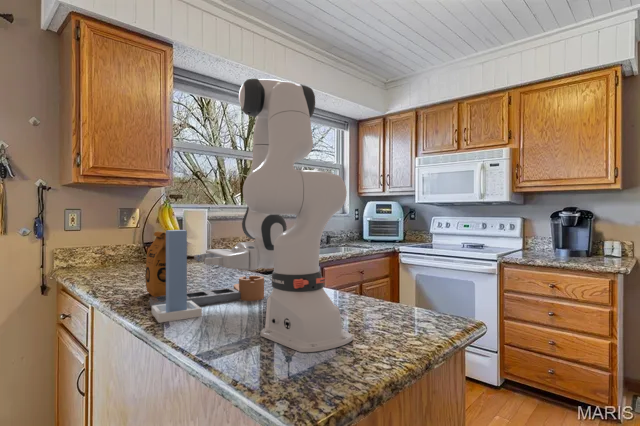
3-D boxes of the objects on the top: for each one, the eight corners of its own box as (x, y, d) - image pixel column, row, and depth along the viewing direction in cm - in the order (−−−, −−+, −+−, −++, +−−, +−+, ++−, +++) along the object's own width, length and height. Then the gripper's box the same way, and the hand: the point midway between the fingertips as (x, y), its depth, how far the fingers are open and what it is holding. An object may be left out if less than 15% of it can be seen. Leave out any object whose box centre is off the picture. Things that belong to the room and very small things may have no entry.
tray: (201, 316, 100) (201, 308, 100) (158, 322, 94) (158, 314, 94) (191, 307, 109) (191, 300, 109) (151, 313, 103) (151, 305, 103)
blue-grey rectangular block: (186, 313, 101) (186, 230, 101) (169, 315, 99) (169, 231, 99) (182, 309, 105) (182, 229, 105) (165, 311, 102) (165, 230, 102)
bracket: (266, 299, 120) (266, 278, 120) (241, 302, 117) (241, 280, 117) (254, 289, 136) (254, 271, 136) (231, 291, 133) (231, 272, 133)
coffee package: (148, 300, 119) (148, 232, 119) (143, 293, 129) (144, 231, 129) (180, 296, 124) (180, 232, 124) (173, 289, 135) (173, 230, 135)
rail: (240, 299, 119) (240, 292, 119) (154, 311, 105) (154, 303, 105) (230, 294, 127) (230, 287, 127) (149, 305, 112) (149, 297, 112)
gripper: (232, 243, 122) (189, 246, 114) (258, 249, 105) (210, 252, 97) (232, 262, 122) (189, 266, 114) (258, 270, 105) (210, 275, 97)
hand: (199, 259), depth 105 cm, fingers open, 8 cm apart
